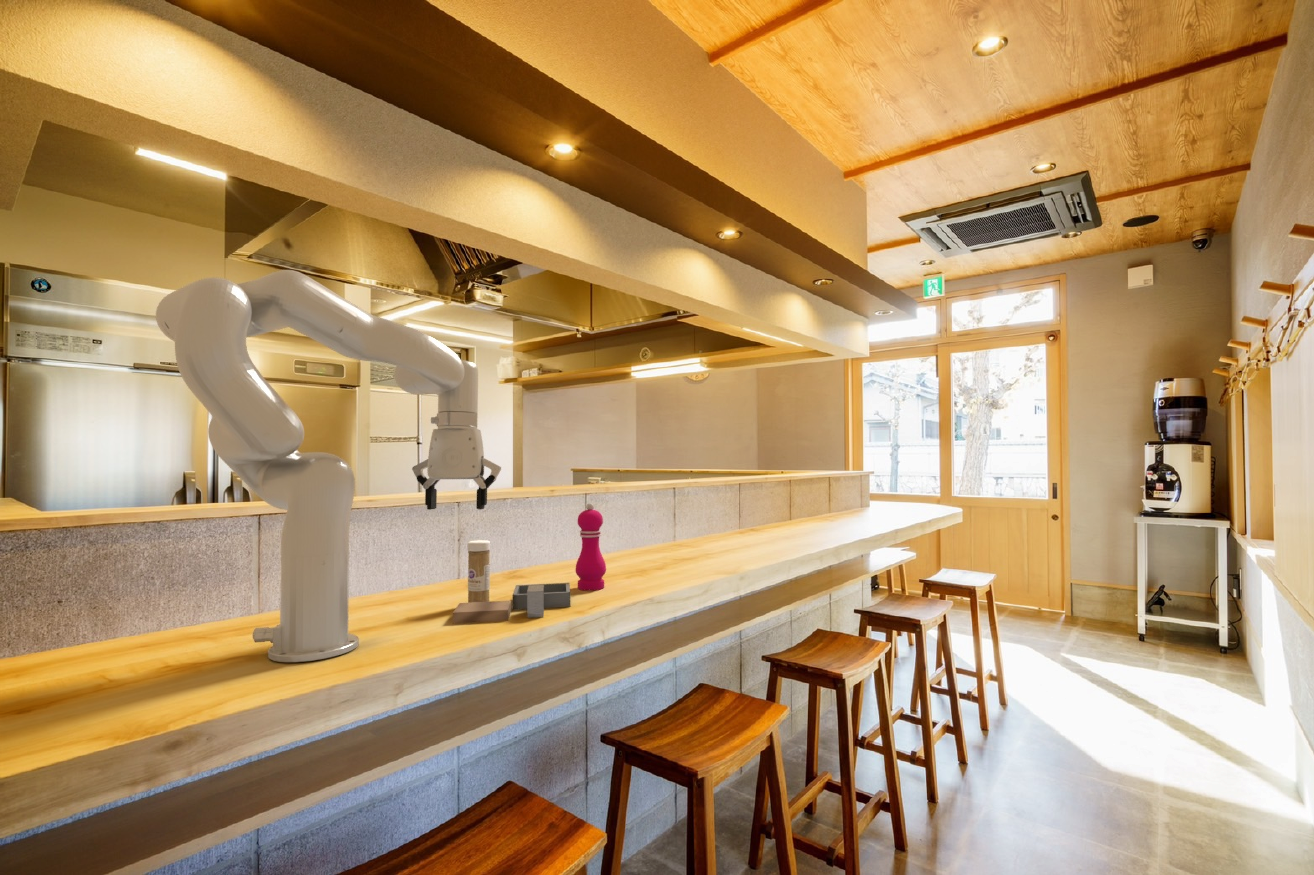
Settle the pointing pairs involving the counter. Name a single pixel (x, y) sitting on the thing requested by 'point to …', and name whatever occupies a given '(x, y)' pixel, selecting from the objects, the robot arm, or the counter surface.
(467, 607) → the board
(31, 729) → the counter surface
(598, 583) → the pepper mill
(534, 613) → the block
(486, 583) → the sprinkles bottle
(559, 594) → the tray
